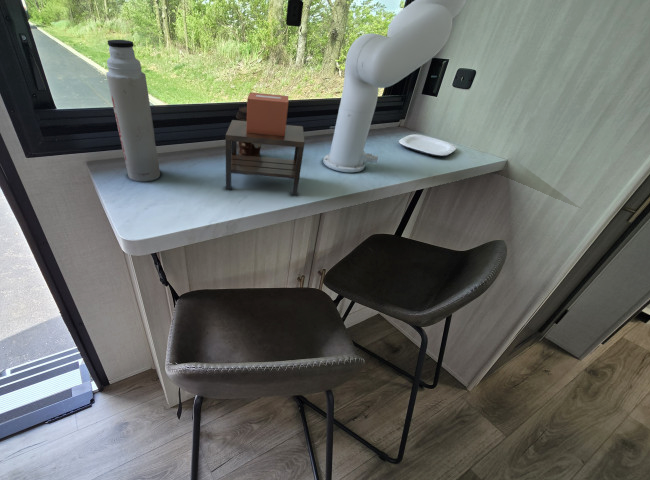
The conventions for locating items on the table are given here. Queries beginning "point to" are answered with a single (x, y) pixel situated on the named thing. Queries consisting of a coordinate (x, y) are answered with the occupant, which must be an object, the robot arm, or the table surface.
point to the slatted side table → (264, 164)
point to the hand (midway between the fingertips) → (293, 24)
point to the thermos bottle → (132, 111)
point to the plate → (427, 145)
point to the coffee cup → (246, 147)
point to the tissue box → (266, 114)
